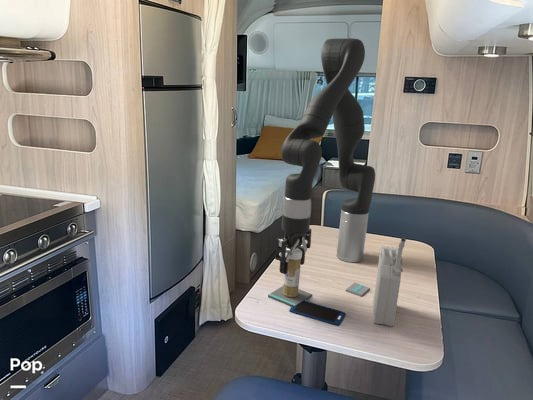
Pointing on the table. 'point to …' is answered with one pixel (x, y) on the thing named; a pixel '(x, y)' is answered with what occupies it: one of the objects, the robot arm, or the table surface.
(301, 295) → the mat
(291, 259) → the sprinkles bottle
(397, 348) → the table surface
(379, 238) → the table surface
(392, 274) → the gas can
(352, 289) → the label tag
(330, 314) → the cell phone
